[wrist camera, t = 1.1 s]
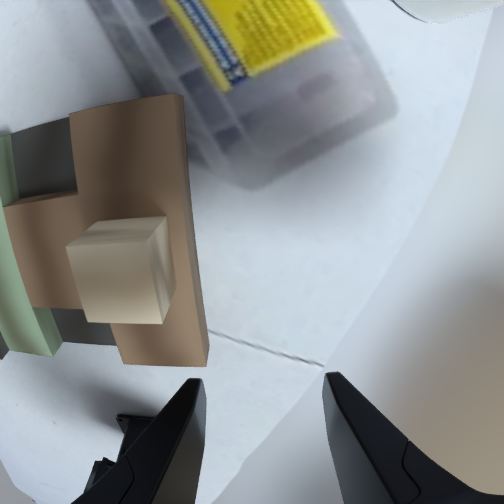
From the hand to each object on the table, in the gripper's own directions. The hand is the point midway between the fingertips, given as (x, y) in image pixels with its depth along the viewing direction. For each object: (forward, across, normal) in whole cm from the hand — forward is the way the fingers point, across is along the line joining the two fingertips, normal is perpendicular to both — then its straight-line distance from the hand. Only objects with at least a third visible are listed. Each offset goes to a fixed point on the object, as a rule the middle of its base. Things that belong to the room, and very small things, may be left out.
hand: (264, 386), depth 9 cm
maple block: (+10, +7, 0) cm, 13 cm away
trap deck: (+13, +14, 0) cm, 19 cm away
